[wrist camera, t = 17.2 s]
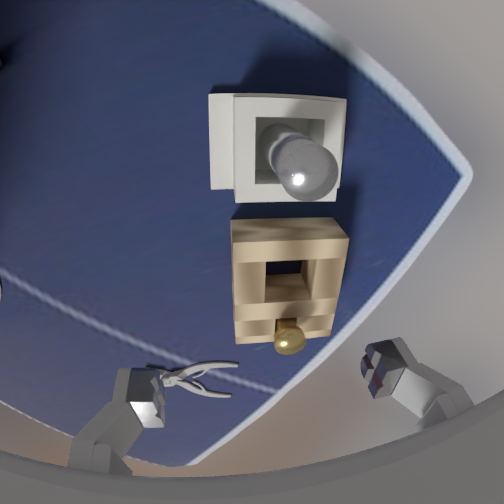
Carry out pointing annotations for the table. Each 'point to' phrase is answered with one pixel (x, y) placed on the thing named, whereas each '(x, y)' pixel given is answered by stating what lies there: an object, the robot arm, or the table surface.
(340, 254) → the socket block
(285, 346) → the key
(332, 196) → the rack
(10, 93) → the table surface
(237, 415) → the table surface
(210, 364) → the pliers
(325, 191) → the grey rounded cylinder
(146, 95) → the table surface
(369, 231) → the table surface
